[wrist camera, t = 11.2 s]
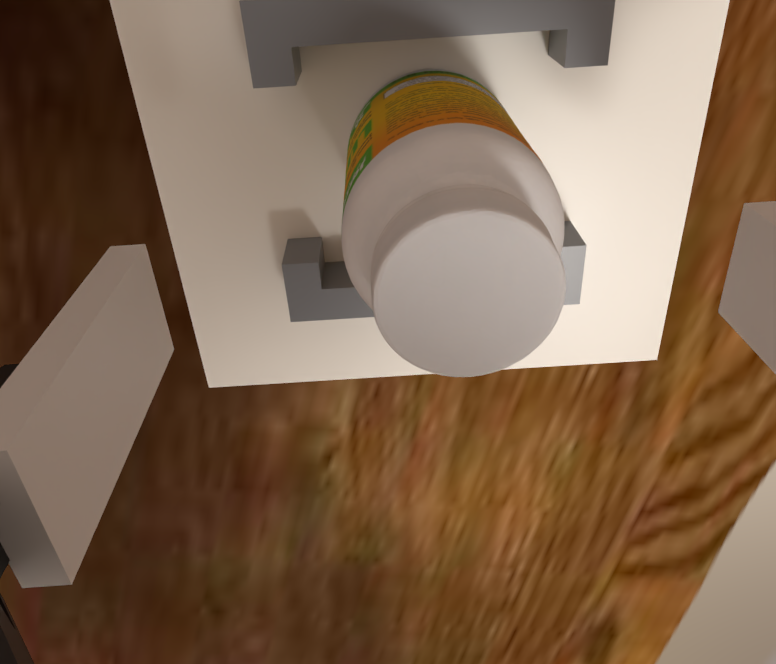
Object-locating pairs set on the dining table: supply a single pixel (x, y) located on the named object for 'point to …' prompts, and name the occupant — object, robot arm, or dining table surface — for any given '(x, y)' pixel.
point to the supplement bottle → (451, 226)
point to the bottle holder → (330, 143)
